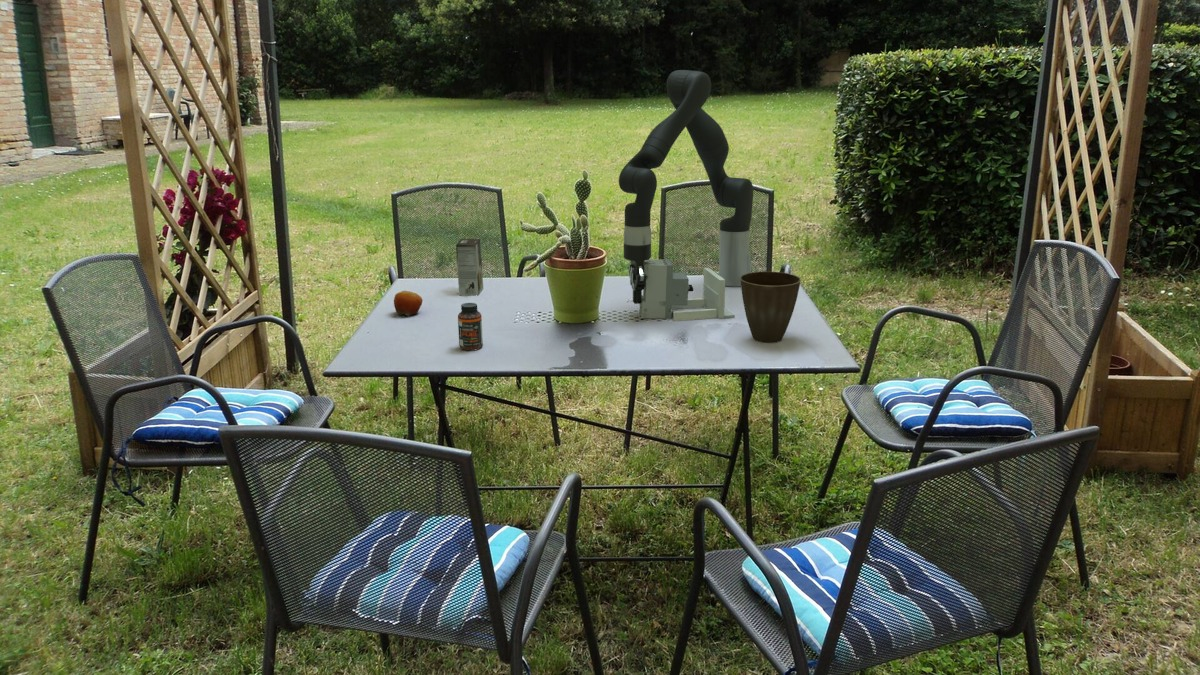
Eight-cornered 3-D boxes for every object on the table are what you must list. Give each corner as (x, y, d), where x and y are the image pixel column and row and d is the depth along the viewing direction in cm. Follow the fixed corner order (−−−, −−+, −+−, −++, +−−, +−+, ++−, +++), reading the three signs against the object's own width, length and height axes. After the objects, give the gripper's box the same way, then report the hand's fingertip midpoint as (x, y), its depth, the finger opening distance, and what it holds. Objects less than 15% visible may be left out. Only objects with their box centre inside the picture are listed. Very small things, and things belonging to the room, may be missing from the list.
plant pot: (806, 335, 239) (809, 275, 234) (783, 351, 227) (786, 288, 222) (753, 327, 247) (755, 268, 242) (728, 341, 235) (730, 280, 230)
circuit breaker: (692, 318, 257) (695, 265, 252) (641, 318, 256) (643, 265, 251) (689, 311, 264) (691, 259, 259) (639, 311, 263) (640, 259, 259)
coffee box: (463, 288, 293) (460, 238, 288) (483, 288, 293) (481, 238, 288) (458, 296, 284) (455, 244, 279) (479, 295, 284) (476, 244, 279)
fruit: (385, 313, 261) (390, 286, 263) (398, 321, 268) (403, 294, 270) (411, 315, 259) (416, 288, 260) (423, 323, 266) (428, 296, 268)
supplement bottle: (461, 352, 231) (458, 308, 227) (457, 345, 236) (455, 302, 233) (485, 349, 232) (482, 306, 229) (481, 342, 238) (478, 300, 235)
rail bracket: (718, 304, 270) (718, 267, 267) (734, 317, 256) (735, 279, 252) (661, 307, 267) (662, 270, 264) (675, 322, 253) (675, 282, 250)
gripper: (656, 245, 247) (655, 308, 252) (645, 236, 259) (644, 296, 264) (629, 246, 245) (628, 309, 250) (619, 237, 258) (619, 297, 263)
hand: (637, 302), depth 257 cm, fingers closed
